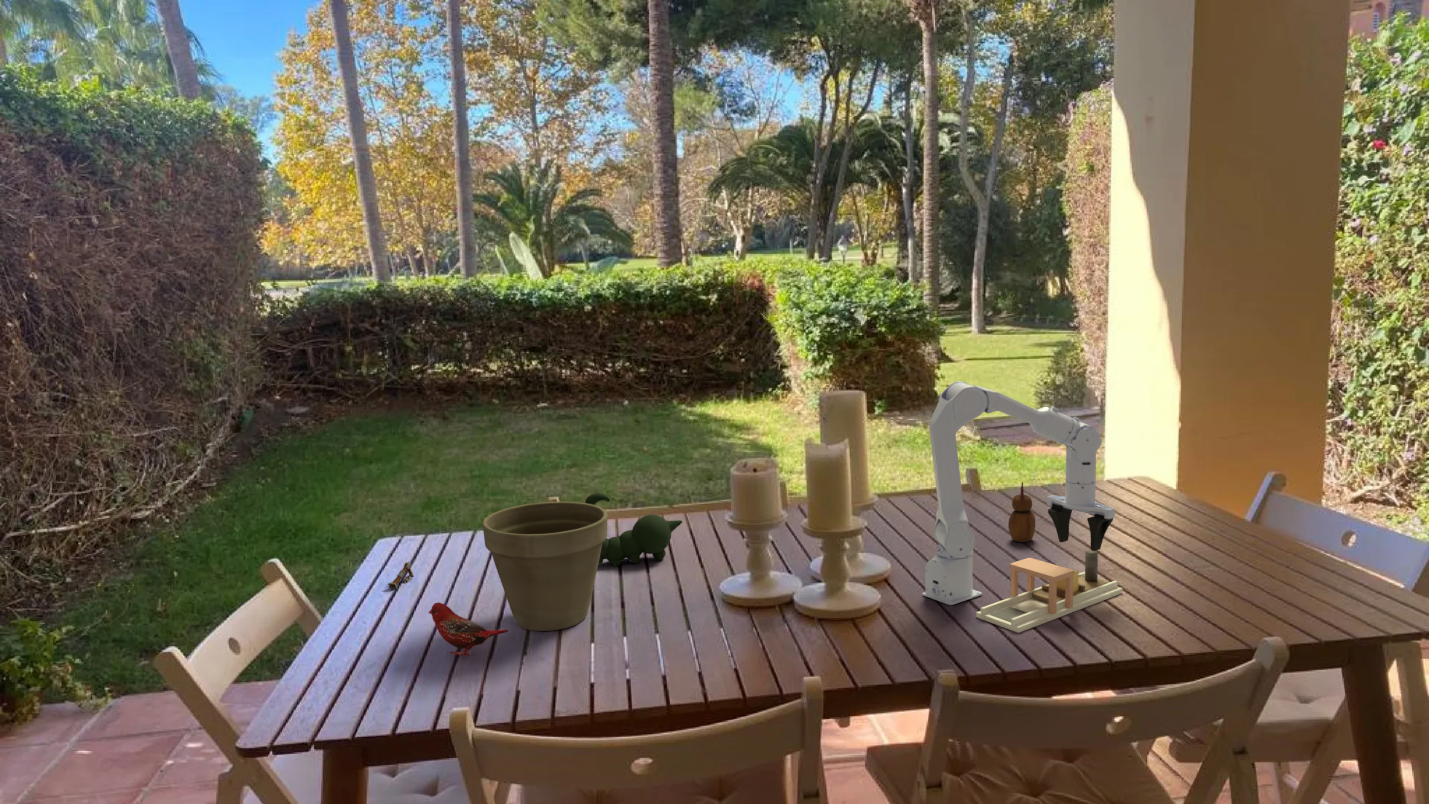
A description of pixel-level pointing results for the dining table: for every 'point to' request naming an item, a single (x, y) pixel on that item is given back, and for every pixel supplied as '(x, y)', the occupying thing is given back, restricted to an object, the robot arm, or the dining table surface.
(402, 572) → the wooden post with brackets
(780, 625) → the dining table surface
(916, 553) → the dining table surface
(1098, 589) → the track
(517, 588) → the plant pot
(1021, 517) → the wooden figurine
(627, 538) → the toy figurine
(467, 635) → the decorative bird figurine
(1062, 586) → the block
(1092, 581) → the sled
